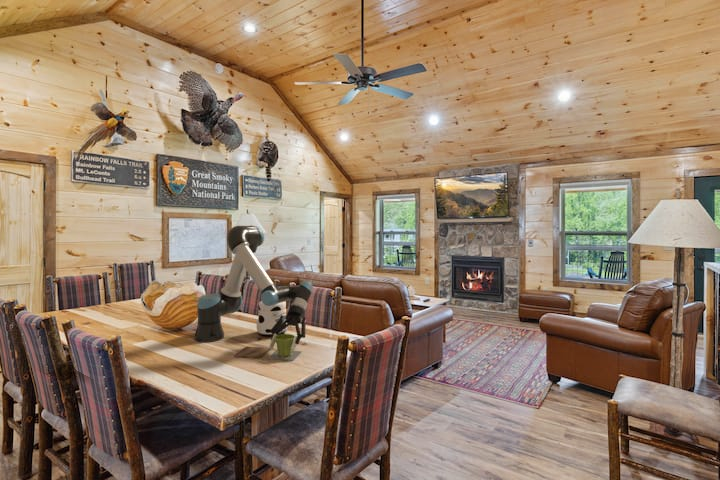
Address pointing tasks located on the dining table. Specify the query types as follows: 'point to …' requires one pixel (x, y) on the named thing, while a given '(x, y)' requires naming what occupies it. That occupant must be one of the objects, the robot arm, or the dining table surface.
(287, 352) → the plant pot
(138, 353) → the dining table surface
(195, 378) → the dining table surface
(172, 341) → the dining table surface
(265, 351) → the walnut board
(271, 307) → the milk container
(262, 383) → the dining table surface
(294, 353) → the slate mat
